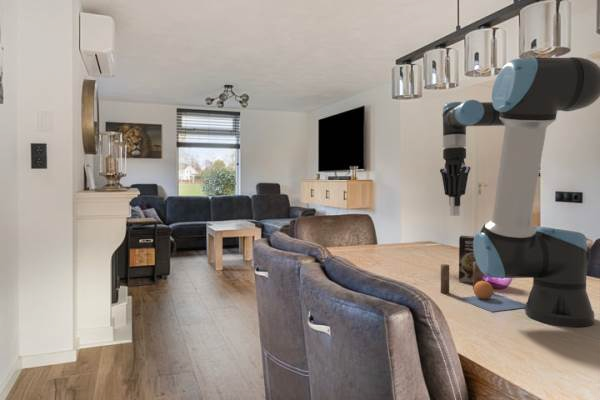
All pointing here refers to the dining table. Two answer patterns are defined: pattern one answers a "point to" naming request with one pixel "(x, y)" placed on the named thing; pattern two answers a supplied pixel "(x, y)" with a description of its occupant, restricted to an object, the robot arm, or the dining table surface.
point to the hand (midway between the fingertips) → (454, 215)
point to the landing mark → (494, 303)
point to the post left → (444, 278)
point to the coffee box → (466, 259)
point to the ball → (483, 290)
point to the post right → (476, 274)
